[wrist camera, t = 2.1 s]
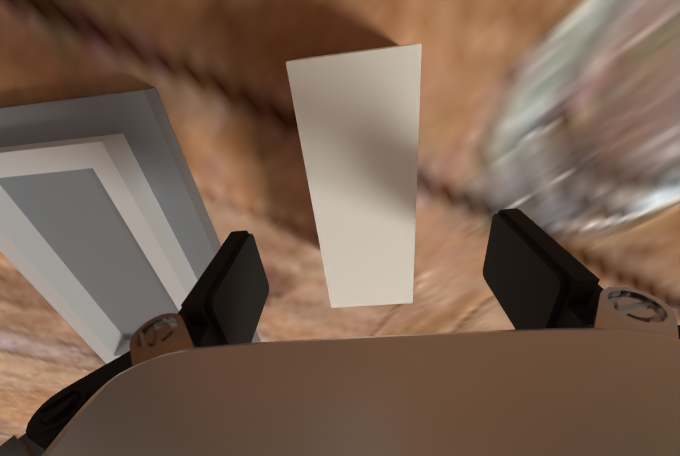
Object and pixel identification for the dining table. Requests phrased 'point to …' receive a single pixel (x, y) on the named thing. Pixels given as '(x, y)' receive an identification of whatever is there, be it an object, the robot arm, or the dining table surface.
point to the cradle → (102, 212)
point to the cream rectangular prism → (362, 167)
